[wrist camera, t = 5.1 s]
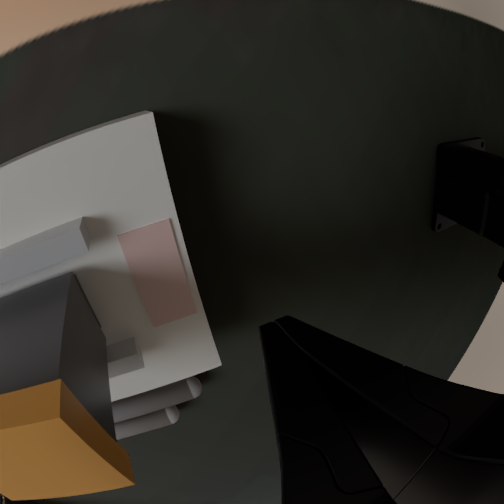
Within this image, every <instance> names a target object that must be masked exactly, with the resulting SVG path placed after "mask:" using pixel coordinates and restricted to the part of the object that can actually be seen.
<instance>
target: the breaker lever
mask: <svg viewBox="0 0 504 504" xmlns="http://www.w3.org/2000/svg"><path fill="white" fill-rule="evenodd" d="M131 485H135V482H134V477H133V473H132V469H131V464H130V459H129V454H128V453H127V452H126V451H125V450H124V449H123V448H122V447H121V446H120V445H119V444H118V443H117V439H116V433H115V426H114V419H113V412H112V404H111V395H110V386H109V375H108V363H107V349H106V337H105V335H104V333H103V332H102V330H101V328H100V326H99V324H98V323H97V321H96V319H95V317H94V315H93V313H92V311H91V309H90V307H89V305H88V303H87V301H86V299H85V297H84V295H83V293H82V291H81V289H80V287H79V285H78V283H77V281H76V279H75V277H74V275H73V272H72V271H71V272H69V273H66V274H63V275H60V276H58V277H55V278H52V279H49V280H47V281H44V282H41V283H39V284H36V285H33V286H31V287H28V288H25V289H23V290H20V291H18V292H15V293H12V294H10V295H7V296H5V297H2V298H0V493H1V494H2V495H4V496H5V497H7V498H9V499H10V500H12V501H13V500H35V499H48V498H58V497H67V496H75V495H82V494H89V493H95V492H101V491H106V490H112V489H117V488H122V487H126V486H131Z"/></svg>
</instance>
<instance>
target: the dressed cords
mask: <svg viewBox="0 0 504 504" xmlns="http://www.w3.org/2000/svg"><path fill="white" fill-rule="evenodd" d="M201 391H202V385H201V382H200V381H199V380H198V379H197V378H196V377H193V376H191V377H188V378H185V379H182V380H179V381H176V382H173V383H170V384H167V385H164V386H161V387H158V388H155V389H152V390H149V391H146V392H143V393H139V394H136V395H133V396H130V397H126V398H123V399H119V400H116V401H113V402H111V404H112V412H113V419H114V426H115V433H116V439H117V440H118V439H122V438H126V437H129V436H133V435H137V434H140V433H144V432H147V431H151V430H154V429H157V428H161V427H164V426H167V425H170V424H173V423H175V422H176V421H177V420H178V419H179V416H180V413H179V410H178V408H177V407H176V406H175V405H176V404H179V403H182V402H185V401H188V400H191V399H194V398H196V397H198V396H199V395H200V393H201Z"/></svg>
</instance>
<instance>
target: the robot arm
mask: <svg viewBox="0 0 504 504" xmlns="http://www.w3.org/2000/svg"><path fill="white" fill-rule="evenodd" d="M457 223H458V224H460V225H462V226H464V227H466V228H468V229H470V230H472V231H474V232H475V233H477V234H479V235H482V236H484V237H486V238H487V239H489V240H491V241H493V242H495V243H496V244H498V245H500V246H502V247H504V158H502V157H499V156H496V155H494V154H491V153H488V152H485V140H484V139H483V138H480V137H477V138H471V139H464V140H458V141H452V142H446V143H441V144H439V146H438V148H437V164H436V182H435V195H434V206H433V216H432V225H431V229H432V230H433V231H434V232H436V233H439V232H441V231H443V230H445V229H447V228H449V227H451V226H453V225H455V224H457ZM498 277H499V278H500V279H501V280H502V281H503V282H504V261H503V264H502V267H501V268H500V269H499V273H498ZM258 332H259V338H260V344H261V350H262V356H263V362H264V368H265V374H266V380H267V386H268V392H269V398H270V404H271V410H272V416H273V422H274V428H275V433H276V440H277V446H278V453H279V461H280V469H281V489H282V504H504V394H498V393H493V392H489V391H485V390H481V389H477V388H473V387H469V386H464V385H460V384H456V383H453V382H450V381H447V380H443V379H440V378H437V377H434V376H431V375H428V374H426V373H423V372H420V371H417V370H415V369H412V368H410V367H408V366H404V367H403V365H402V364H400V363H397V362H395V361H393V360H390V359H388V358H385V357H383V356H381V355H378V354H376V353H373V352H371V351H369V350H366V349H364V348H362V347H359V346H357V345H355V344H352V343H350V342H348V341H345V340H343V339H341V338H338V337H336V336H334V335H332V334H329V333H327V332H325V331H322V330H320V329H318V328H316V327H313V326H311V325H309V324H307V323H304V322H302V321H300V320H298V319H296V318H293V317H291V316H284V317H281V318H279V319H276V320H275V321H274V322H269V323H266V324H264V325H261V326H259V327H258Z"/></svg>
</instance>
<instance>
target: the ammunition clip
mask: <svg viewBox="0 0 504 504" xmlns="http://www.w3.org/2000/svg"><path fill="white" fill-rule="evenodd" d="M0 504H37V503H34V502H32V501H29V500H13V501H12V500H10V499H9V498H7V497H5V496H4V495H2V494H0Z"/></svg>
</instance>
